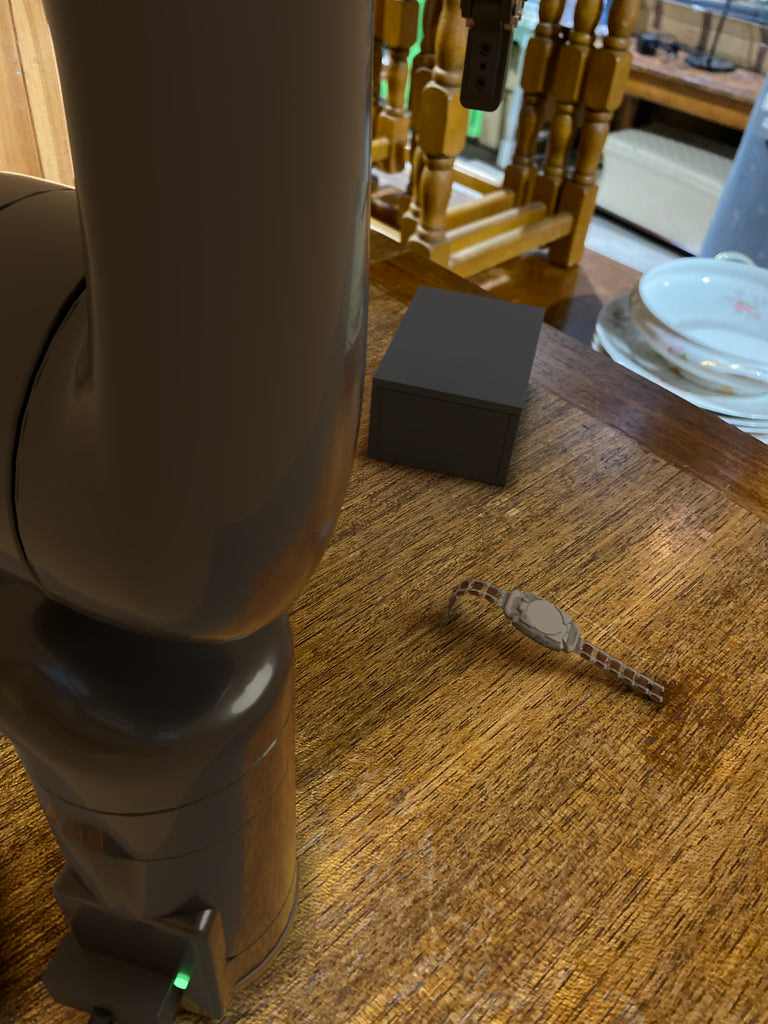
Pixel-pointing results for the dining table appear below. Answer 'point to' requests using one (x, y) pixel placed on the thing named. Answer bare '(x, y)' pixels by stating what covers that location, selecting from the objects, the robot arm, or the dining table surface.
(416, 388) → the lid
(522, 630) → the wristwatch
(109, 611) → the robot arm
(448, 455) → the chest
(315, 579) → the dining table surface
